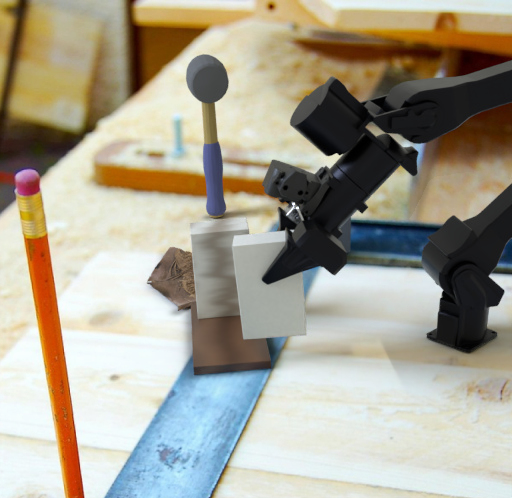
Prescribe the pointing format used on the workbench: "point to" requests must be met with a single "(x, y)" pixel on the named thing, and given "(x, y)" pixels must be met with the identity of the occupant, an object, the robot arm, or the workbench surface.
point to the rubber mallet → (210, 124)
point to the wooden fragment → (175, 277)
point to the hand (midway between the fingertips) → (262, 275)
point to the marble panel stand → (220, 303)
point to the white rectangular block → (267, 289)
